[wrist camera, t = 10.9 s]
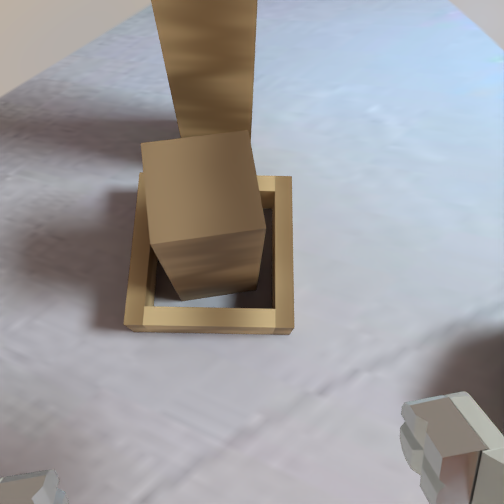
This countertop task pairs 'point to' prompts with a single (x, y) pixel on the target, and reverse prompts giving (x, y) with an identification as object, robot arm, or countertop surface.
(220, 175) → the wooden block
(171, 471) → the countertop surface
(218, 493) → the countertop surface
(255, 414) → the countertop surface
